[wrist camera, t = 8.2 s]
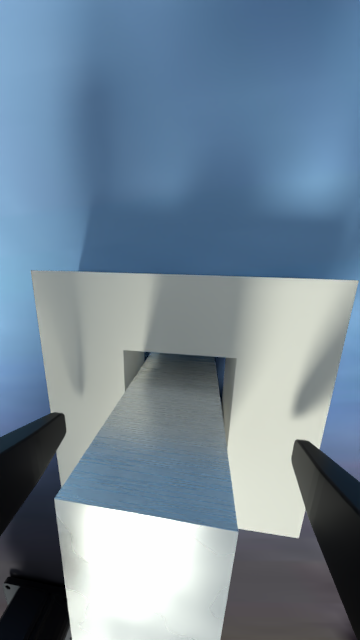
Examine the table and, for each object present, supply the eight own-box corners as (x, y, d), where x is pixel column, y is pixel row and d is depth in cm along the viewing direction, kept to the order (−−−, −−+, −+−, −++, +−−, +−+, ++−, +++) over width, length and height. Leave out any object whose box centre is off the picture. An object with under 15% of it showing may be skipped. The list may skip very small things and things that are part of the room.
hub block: (276, 475, 12) (298, 538, 9) (93, 451, 14) (63, 500, 11) (311, 278, 10) (358, 280, 7) (77, 271, 11) (30, 270, 8)
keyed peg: (213, 348, 11) (238, 532, 3) (206, 419, 12) (212, 684, 4) (156, 343, 11) (54, 499, 4) (154, 413, 12) (73, 649, 5)
